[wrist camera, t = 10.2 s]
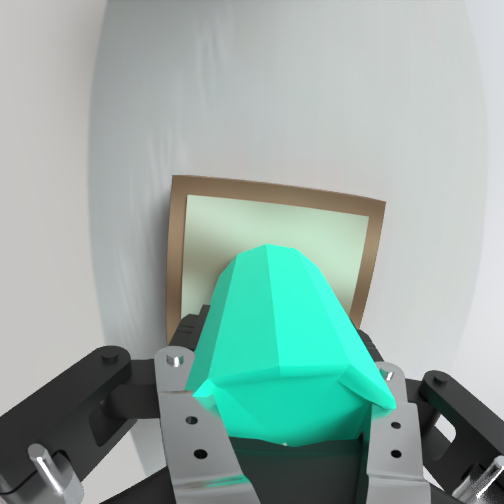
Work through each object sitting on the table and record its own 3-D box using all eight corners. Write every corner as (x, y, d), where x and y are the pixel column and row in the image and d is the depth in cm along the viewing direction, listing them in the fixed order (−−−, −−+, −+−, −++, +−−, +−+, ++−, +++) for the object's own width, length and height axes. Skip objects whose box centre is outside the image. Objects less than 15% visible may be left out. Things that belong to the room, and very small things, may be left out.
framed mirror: (186, 175, 19) (171, 175, 16) (365, 197, 20) (387, 202, 16) (178, 337, 22) (166, 364, 19) (333, 352, 22) (344, 380, 19)
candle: (344, 308, 17) (441, 485, 5) (257, 362, 17) (255, 554, 6) (286, 220, 15) (363, 357, 4) (192, 285, 16) (96, 470, 5)
